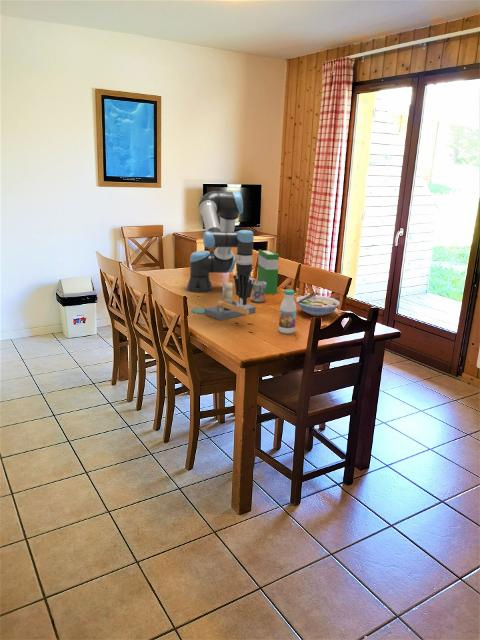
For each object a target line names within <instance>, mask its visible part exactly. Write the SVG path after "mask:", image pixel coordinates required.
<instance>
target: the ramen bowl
mask: <svg viewBox="0 0 480 640" xmlns="http://www.w3.org/2000/svg"><path fill="white" fill-rule="evenodd" d="M318 294H319V293H318V292H316V293H315V292H312V293H310V294H309V295H302V296H298V297H297V298H296V304H298V306H299V309H301V310H302V311H303V312H305V313H307V314H309V315H310V316H314V317H323V316H325V315H328V314H332V313H333V312H334V311H335V310H336V309H337V308H338V306H339V305H340V301H339V300H338V299H335V298H333V297H329V296H324V295H318Z"/></svg>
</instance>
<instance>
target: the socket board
mask: <svg viewBox="0 0 480 640" xmlns="http://www.w3.org/2000/svg"><path fill="white" fill-rule="evenodd" d="M235 302H236V306H238V307H240V304H239V301H235ZM246 309H247V310H249V315H250V314H254V313H256V311H257V310H256V306H254V305H251V304H248V303H247V304H246ZM205 314H206V315H205ZM203 315H205V316H208V317H210V316H211V318H213V317H214V318H213V319H215V318H216V320H218V319H219V320H218V321H225V320H228V318H229V319H233V318H237V317H242V316H246V315H245V314H242V313H239V312H236V311H233V310H230V309H228V310H225V309H224V307H218V305H217V306H212V307H211V306H210V307H205V309H204V314H203ZM224 319H225V320H224Z"/></svg>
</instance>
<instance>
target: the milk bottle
mask: <svg viewBox="0 0 480 640" xmlns="http://www.w3.org/2000/svg"><path fill="white" fill-rule="evenodd" d="M283 293H284V294H283V295H284V297H283V300H282V301H281V303H280V308H279V316H278V317H279V319H278V331H279V333H281V334H287V335H289V334H290V335H291V334H294V333H295V330H296V322H297V321H296V320H297V319H296V318H297V305H296V304H297V303H296V301H295V298H294V296H295V290H293V289H284V292H283Z"/></svg>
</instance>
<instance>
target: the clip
mask: <svg viewBox="0 0 480 640" xmlns="http://www.w3.org/2000/svg"><path fill="white" fill-rule="evenodd" d="M217 306H218V307H224V308H227V309H230V310H233V311H236V312H239V313H242V314H245V315H244V316H249V315H250V314H249V310H247V309H244V308H241V307H238V306H235V305H232V304H228V303H225V301H222V300H218V301H217Z"/></svg>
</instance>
